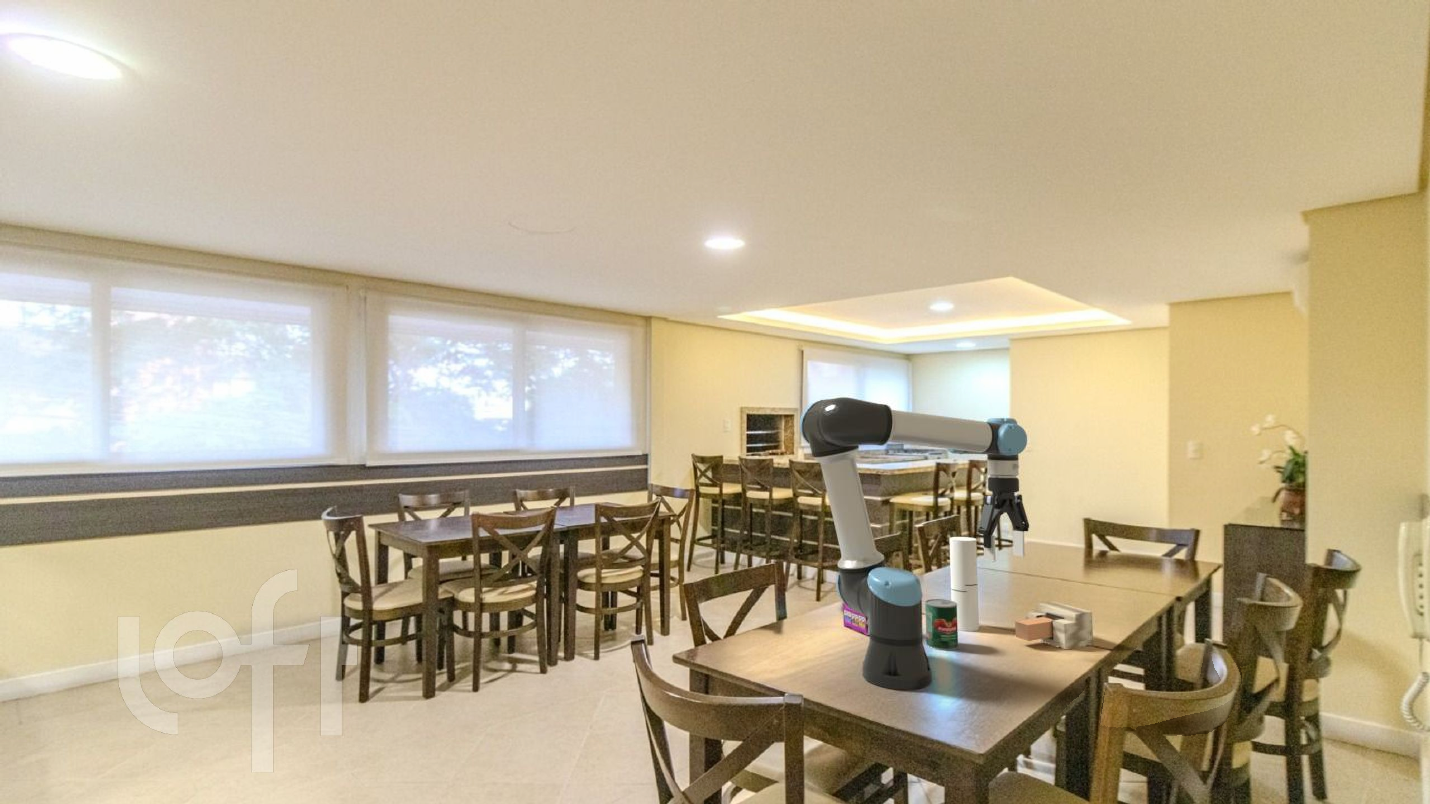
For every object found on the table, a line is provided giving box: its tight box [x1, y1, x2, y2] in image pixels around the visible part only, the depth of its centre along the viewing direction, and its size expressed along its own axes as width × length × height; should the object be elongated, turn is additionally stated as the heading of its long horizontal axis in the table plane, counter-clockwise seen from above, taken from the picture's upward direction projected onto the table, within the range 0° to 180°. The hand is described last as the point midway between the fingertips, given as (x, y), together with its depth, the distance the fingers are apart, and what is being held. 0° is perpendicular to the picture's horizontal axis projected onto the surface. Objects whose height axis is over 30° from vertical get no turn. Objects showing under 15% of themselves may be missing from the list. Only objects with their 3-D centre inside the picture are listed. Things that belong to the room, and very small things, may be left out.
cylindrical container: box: [949, 536, 980, 632], centre depth 185 cm, size 7×7×25 cm
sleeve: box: [1025, 601, 1094, 650], centre depth 172 cm, size 10×12×8 cm
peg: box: [1014, 617, 1053, 642], centre depth 170 cm, size 10×4×4 cm, turn 112°
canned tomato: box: [924, 598, 959, 651], centre depth 169 cm, size 8×8×11 cm
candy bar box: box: [842, 601, 870, 636], centre depth 184 cm, size 11×5×16 cm, turn 25°
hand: (1004, 558), depth 170 cm, fingers open, 13 cm apart
